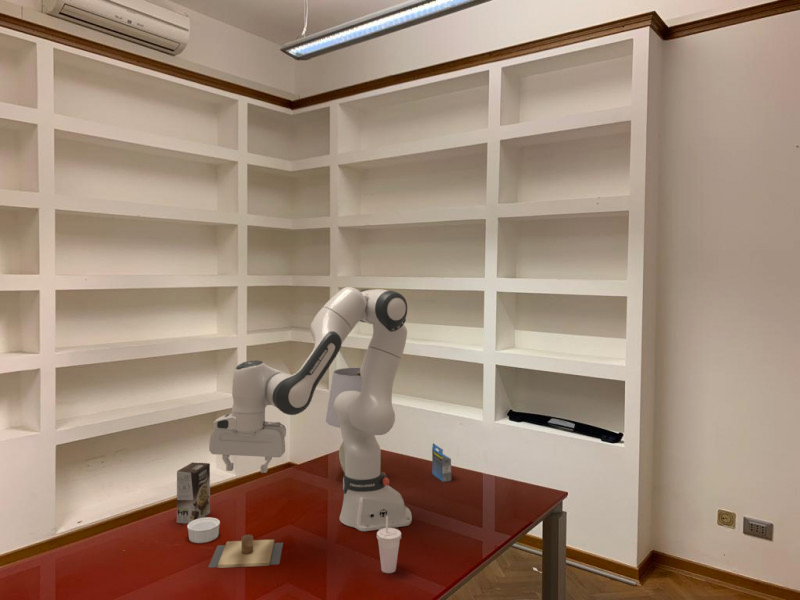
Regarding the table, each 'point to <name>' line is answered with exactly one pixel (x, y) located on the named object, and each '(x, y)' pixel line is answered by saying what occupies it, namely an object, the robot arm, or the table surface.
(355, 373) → the lamp
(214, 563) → the mat
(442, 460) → the label tape box
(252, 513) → the table surface
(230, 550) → the lid
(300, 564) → the table surface
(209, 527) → the ramekin
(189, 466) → the coffee box
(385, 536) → the smoothie
